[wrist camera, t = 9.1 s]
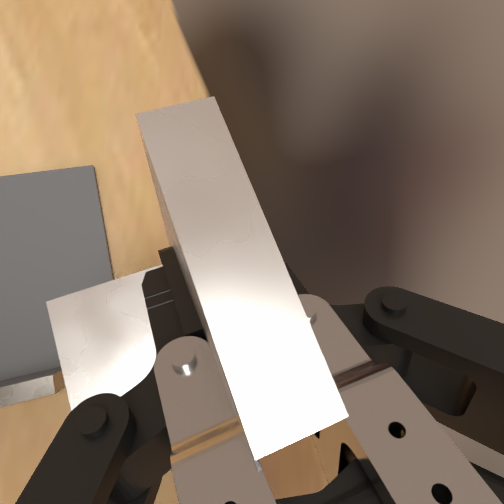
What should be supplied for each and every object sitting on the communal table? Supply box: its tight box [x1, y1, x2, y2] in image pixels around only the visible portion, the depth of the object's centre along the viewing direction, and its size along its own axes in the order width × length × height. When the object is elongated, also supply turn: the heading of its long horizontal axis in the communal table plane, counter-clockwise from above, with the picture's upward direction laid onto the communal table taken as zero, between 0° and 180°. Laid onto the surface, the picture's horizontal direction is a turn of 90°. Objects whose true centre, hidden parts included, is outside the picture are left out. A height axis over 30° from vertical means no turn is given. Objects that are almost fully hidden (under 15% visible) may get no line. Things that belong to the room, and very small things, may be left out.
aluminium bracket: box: [46, 97, 349, 460], centre depth 10 cm, size 6×6×10 cm
